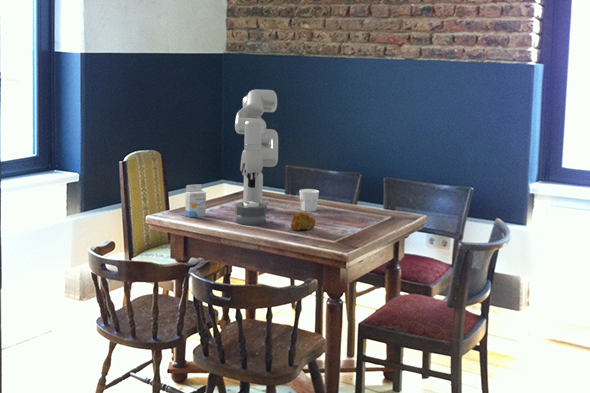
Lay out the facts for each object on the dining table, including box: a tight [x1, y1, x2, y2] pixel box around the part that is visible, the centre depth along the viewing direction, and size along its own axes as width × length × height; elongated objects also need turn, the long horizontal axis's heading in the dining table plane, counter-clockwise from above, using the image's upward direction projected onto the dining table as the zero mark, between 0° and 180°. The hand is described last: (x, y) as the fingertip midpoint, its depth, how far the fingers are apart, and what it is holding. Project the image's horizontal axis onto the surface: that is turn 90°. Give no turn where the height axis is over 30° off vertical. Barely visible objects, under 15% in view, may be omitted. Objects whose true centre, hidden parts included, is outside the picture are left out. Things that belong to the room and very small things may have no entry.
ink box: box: [184, 183, 207, 218], centre depth 311 cm, size 8×5×15 cm, turn 123°
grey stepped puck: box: [234, 201, 268, 226], centre depth 304 cm, size 14×14×8 cm
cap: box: [244, 200, 259, 207], centre depth 303 cm, size 7×7×6 cm
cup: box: [299, 188, 320, 212], centre depth 336 cm, size 10×10×10 cm
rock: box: [290, 211, 316, 231], centre depth 294 cm, size 11×8×10 cm
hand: (251, 187), depth 302 cm, fingers closed
